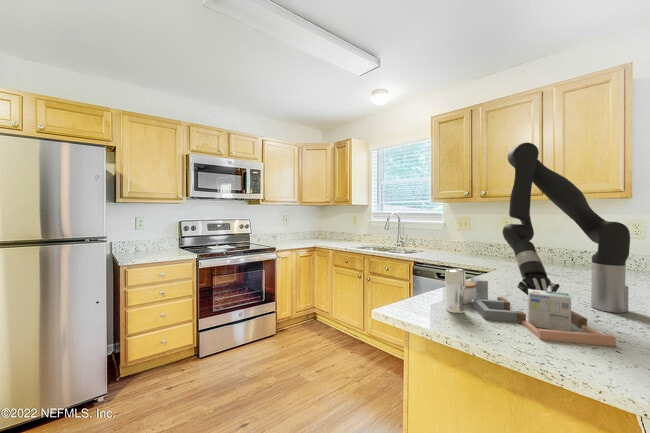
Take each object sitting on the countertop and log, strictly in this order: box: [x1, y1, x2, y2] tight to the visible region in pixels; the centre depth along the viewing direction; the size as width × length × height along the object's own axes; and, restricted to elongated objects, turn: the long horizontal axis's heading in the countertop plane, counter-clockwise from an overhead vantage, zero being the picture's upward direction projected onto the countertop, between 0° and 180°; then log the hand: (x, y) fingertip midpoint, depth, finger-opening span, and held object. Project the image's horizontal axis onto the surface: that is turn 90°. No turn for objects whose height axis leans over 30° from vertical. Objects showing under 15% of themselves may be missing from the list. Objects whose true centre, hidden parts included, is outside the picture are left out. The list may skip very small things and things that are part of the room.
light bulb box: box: [527, 289, 572, 331], centre depth 93 cm, size 11×7×11 cm, turn 59°
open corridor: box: [496, 296, 588, 329], centre depth 103 cm, size 19×20×3 cm
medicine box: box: [470, 276, 489, 300], centre depth 122 cm, size 8×4×9 cm, turn 168°
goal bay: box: [521, 320, 617, 347], centre depth 86 cm, size 18×12×2 cm, turn 77°
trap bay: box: [472, 298, 518, 323], centre depth 104 cm, size 10×14×3 cm
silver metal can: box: [444, 268, 467, 314], centre depth 107 cm, size 7×7×15 cm
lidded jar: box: [463, 280, 476, 305], centre depth 119 cm, size 11×11×9 cm
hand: (546, 309), depth 96 cm, fingers closed
